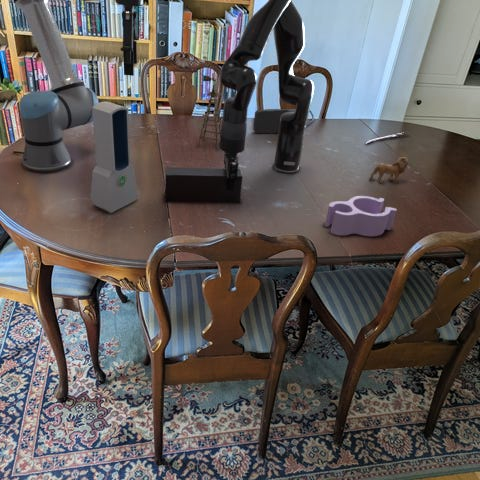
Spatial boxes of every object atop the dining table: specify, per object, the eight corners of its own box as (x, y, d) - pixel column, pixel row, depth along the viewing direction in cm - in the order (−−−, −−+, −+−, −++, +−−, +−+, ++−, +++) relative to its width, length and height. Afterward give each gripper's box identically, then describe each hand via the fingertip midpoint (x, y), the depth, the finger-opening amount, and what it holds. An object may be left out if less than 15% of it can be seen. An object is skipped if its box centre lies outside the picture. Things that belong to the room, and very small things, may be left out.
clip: (337, 240, 135) (342, 219, 131) (318, 218, 145) (322, 198, 141) (395, 233, 141) (402, 213, 137) (373, 213, 151) (378, 194, 147)
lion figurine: (397, 176, 178) (404, 154, 173) (406, 182, 174) (413, 159, 169) (364, 178, 173) (370, 156, 168) (373, 185, 169) (379, 162, 164)
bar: (165, 202, 145) (165, 174, 140) (165, 194, 149) (165, 167, 144) (239, 203, 149) (242, 176, 144) (237, 195, 153) (240, 169, 148)
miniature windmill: (217, 149, 184) (223, 71, 168) (196, 146, 185) (200, 68, 169) (222, 142, 191) (228, 66, 175) (203, 138, 192) (206, 63, 176)
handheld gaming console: (299, 130, 212) (303, 108, 207) (302, 132, 210) (305, 110, 205) (252, 131, 205) (254, 109, 200) (254, 133, 203) (257, 111, 198)
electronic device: (108, 214, 135) (101, 113, 119) (90, 206, 138) (81, 106, 122) (138, 199, 144) (135, 103, 128) (120, 191, 147) (115, 96, 131)
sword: (404, 132, 223) (404, 129, 222) (409, 134, 221) (409, 132, 220) (360, 143, 207) (361, 141, 206) (365, 146, 205) (366, 143, 204)
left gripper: (140, -5, 117) (141, 81, 129) (145, -15, 138) (145, 59, 149) (109, -8, 116) (113, 79, 128) (119, -18, 136) (121, 57, 148)
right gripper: (249, 143, 133) (243, 195, 142) (242, 126, 145) (237, 175, 154) (223, 142, 132) (219, 195, 141) (218, 125, 144) (214, 174, 153)
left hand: (130, 69), depth 138 cm, fingers open, 13 cm apart
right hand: (228, 184), depth 148 cm, fingers open, 6 cm apart
